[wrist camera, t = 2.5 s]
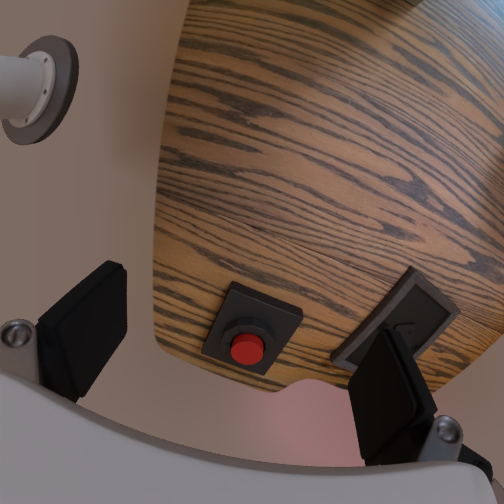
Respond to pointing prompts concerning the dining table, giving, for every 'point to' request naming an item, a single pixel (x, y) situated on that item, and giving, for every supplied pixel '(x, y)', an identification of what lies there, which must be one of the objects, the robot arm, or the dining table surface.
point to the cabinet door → (414, 2)
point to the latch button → (247, 349)
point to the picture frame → (401, 320)
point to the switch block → (251, 326)
